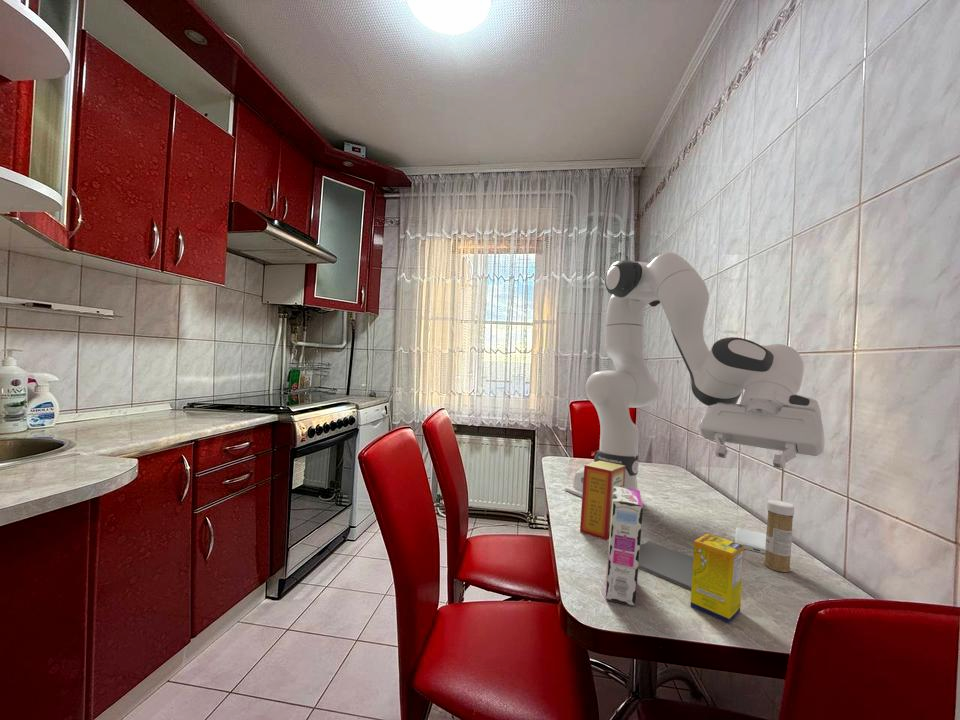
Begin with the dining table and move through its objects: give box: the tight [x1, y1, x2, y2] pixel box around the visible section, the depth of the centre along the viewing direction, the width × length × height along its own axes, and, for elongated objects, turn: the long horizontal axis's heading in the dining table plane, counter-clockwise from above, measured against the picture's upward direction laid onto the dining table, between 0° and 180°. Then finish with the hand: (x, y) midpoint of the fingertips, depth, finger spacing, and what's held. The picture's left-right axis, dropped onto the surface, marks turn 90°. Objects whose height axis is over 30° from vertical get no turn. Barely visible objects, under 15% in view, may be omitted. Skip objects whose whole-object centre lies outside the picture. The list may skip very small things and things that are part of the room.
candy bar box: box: [605, 486, 644, 607], centre depth 74 cm, size 11×5×16 cm, turn 162°
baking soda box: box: [579, 461, 626, 541], centre depth 101 cm, size 10×6×16 cm
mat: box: [638, 540, 693, 591], centre depth 85 cm, size 15×14×1 cm
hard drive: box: [734, 527, 766, 554], centre depth 100 cm, size 2×8×12 cm
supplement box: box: [690, 533, 745, 624], centre depth 69 cm, size 6×6×11 cm
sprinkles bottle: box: [763, 499, 795, 573], centre depth 87 cm, size 5×5×14 cm
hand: (747, 460), depth 78 cm, fingers open, 8 cm apart
